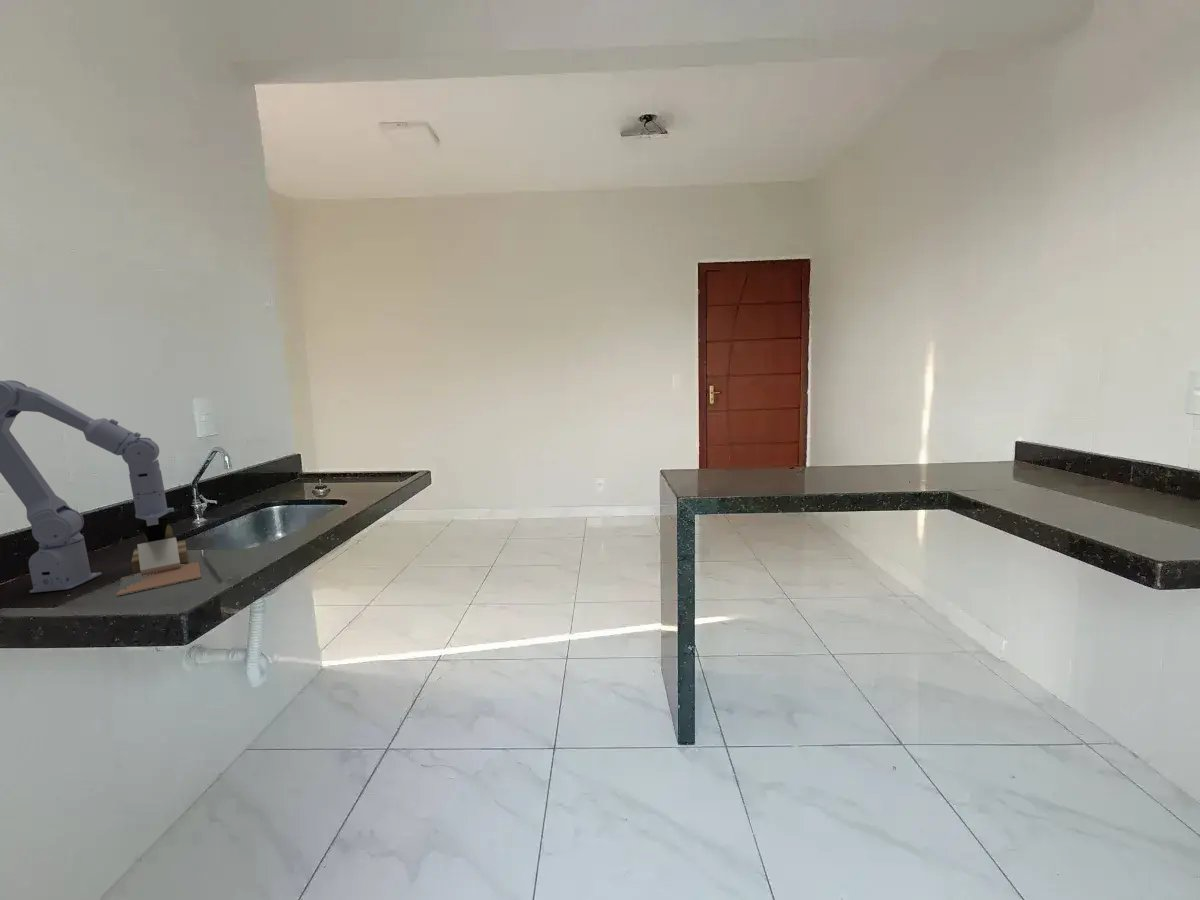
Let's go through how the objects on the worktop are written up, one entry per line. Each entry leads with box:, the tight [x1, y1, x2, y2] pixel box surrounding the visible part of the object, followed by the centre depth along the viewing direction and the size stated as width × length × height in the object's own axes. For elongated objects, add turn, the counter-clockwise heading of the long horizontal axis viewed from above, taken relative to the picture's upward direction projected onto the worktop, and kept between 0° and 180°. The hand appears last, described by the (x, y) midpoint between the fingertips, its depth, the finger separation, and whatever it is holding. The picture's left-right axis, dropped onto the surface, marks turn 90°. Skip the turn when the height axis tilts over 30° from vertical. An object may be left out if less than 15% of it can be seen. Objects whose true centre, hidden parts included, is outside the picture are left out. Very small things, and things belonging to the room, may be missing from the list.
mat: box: [116, 561, 202, 596], centre depth 127 cm, size 14×14×1 cm
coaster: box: [136, 536, 181, 575], centre depth 133 cm, size 7×7×2 cm
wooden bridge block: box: [130, 539, 189, 575], centre depth 139 cm, size 14×10×3 cm
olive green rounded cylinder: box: [144, 524, 176, 542], centre depth 152 cm, size 6×6×11 cm
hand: (159, 550), depth 136 cm, fingers closed
